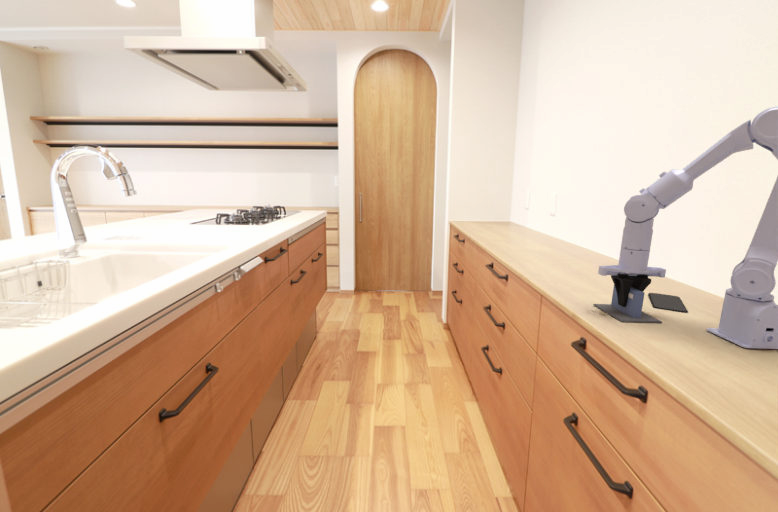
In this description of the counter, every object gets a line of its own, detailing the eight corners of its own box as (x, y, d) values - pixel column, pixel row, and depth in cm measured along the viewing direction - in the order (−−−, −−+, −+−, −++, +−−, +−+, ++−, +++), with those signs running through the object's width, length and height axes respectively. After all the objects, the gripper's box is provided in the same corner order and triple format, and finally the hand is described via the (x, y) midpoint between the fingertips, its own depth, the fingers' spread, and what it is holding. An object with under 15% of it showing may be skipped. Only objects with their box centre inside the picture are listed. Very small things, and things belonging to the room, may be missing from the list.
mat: (661, 323, 89) (662, 321, 89) (621, 322, 88) (621, 320, 88) (628, 306, 100) (629, 304, 100) (593, 305, 100) (593, 303, 100)
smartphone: (652, 306, 100) (647, 292, 113) (652, 310, 100) (647, 295, 113) (689, 312, 96) (679, 296, 109) (688, 315, 97) (679, 299, 110)
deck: (640, 318, 90) (644, 292, 89) (633, 318, 90) (637, 292, 89) (617, 306, 99) (620, 282, 98) (610, 305, 99) (614, 282, 98)
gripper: (654, 246, 96) (645, 301, 98) (594, 244, 95) (587, 299, 98) (676, 252, 89) (665, 310, 91) (611, 250, 88) (603, 309, 91)
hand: (626, 305), depth 94 cm, fingers closed on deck, 2 cm apart
